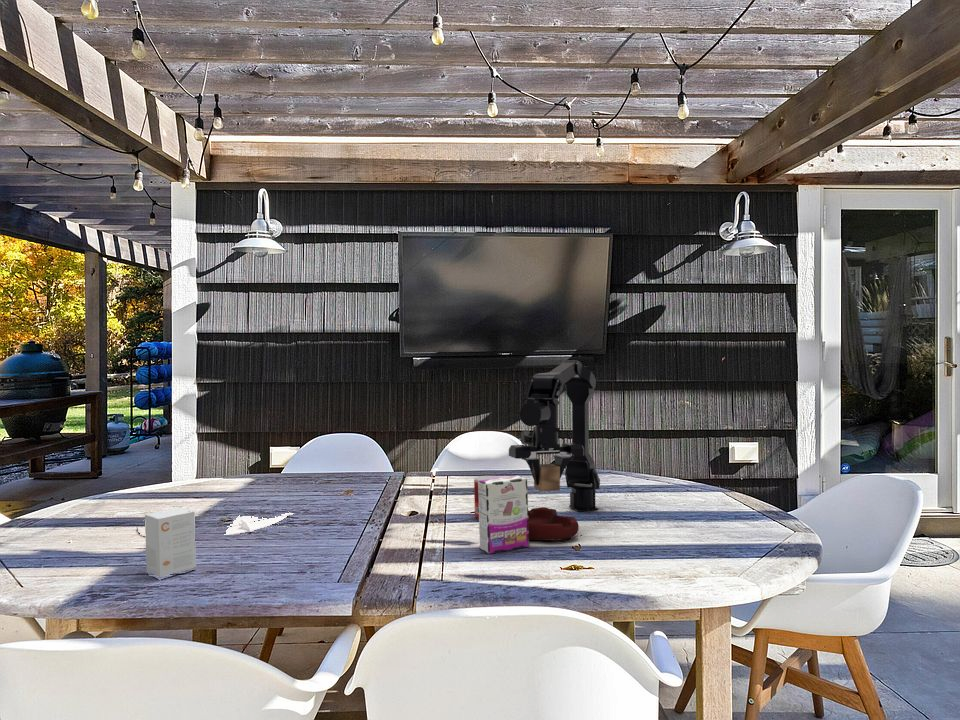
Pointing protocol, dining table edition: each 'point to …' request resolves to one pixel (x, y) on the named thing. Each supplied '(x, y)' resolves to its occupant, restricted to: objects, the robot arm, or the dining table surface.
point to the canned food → (477, 491)
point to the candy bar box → (503, 514)
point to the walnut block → (548, 478)
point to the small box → (170, 541)
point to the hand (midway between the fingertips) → (546, 484)
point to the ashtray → (550, 525)
